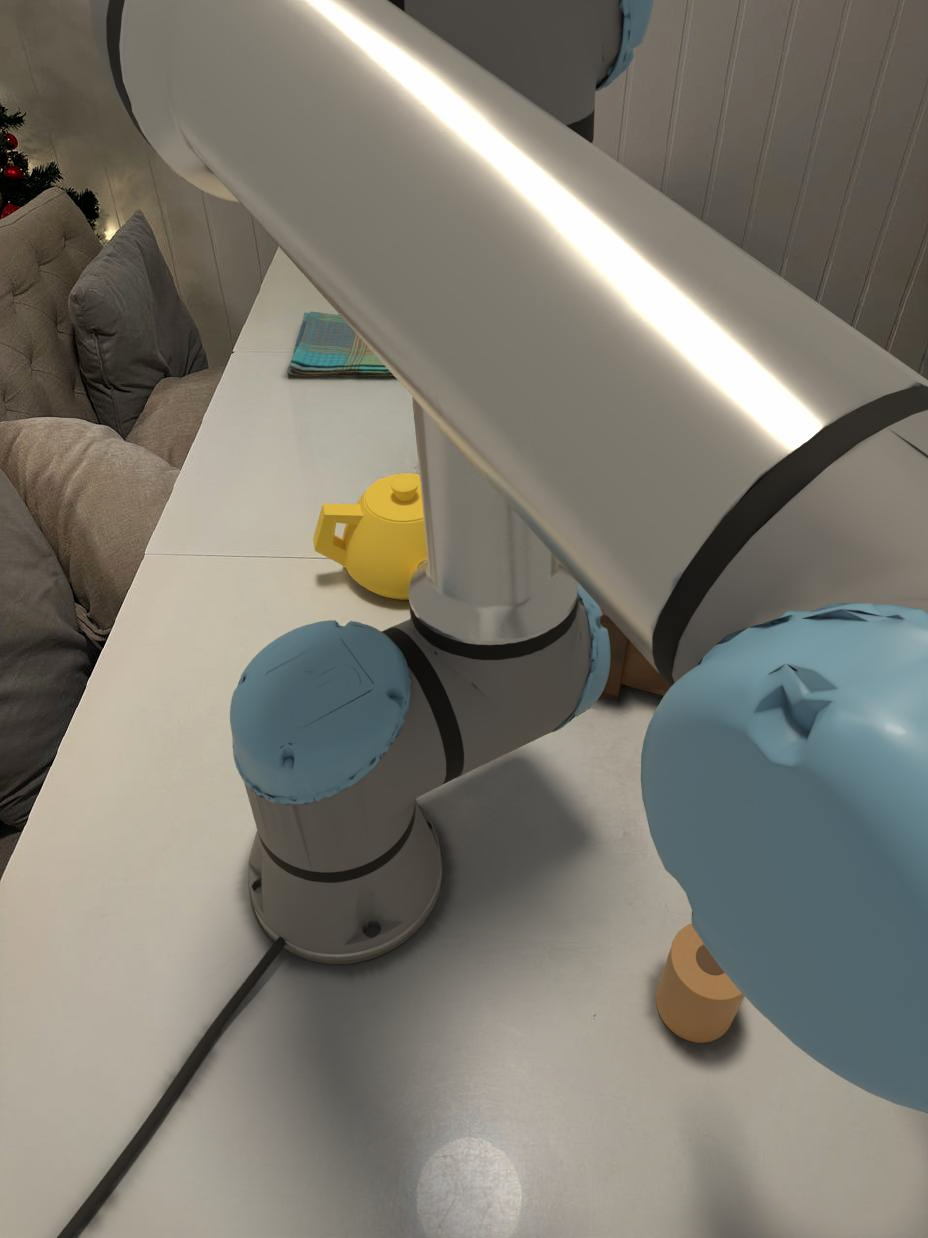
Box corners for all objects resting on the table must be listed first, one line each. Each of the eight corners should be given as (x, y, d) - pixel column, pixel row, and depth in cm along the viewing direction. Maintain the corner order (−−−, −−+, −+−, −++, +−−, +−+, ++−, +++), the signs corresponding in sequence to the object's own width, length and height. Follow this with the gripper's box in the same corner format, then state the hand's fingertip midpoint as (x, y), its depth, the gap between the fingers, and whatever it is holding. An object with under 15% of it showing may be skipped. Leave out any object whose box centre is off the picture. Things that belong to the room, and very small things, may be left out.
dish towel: (304, 322, 142) (302, 307, 141) (455, 324, 142) (455, 308, 140) (286, 379, 130) (284, 362, 128) (452, 380, 130) (451, 364, 128)
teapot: (336, 652, 91) (324, 568, 84) (308, 539, 104) (296, 458, 96) (526, 614, 95) (532, 531, 87) (478, 511, 108) (479, 430, 100)
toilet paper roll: (725, 1055, 63) (747, 1012, 59) (647, 1025, 65) (662, 981, 60) (739, 983, 67) (760, 937, 62) (665, 956, 69) (680, 909, 64)
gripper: (889, 1113, 26) (659, 964, 47) (1588, 907, 30) (1085, 853, 51) (818, 851, 27) (624, 818, 48) (1501, 681, 31) (1044, 719, 52)
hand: (859, 836), depth 49 cm, fingers open, 13 cm apart
